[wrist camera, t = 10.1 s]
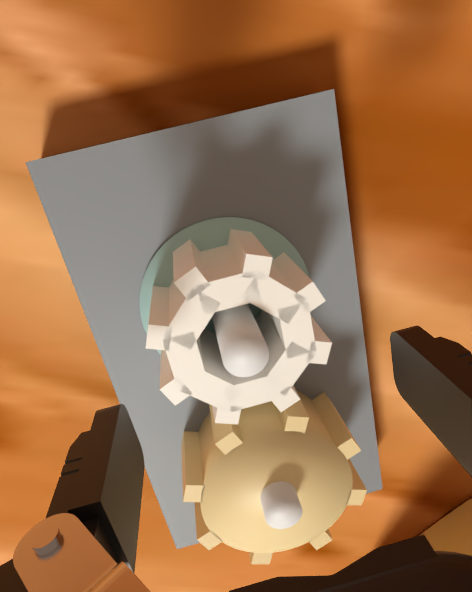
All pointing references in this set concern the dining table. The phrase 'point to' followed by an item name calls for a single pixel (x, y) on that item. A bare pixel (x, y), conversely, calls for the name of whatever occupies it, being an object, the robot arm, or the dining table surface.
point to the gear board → (190, 188)
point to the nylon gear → (223, 295)
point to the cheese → (453, 531)
